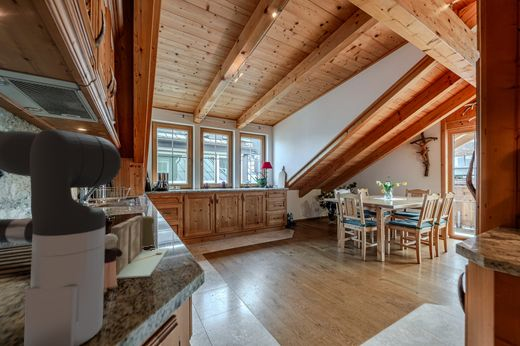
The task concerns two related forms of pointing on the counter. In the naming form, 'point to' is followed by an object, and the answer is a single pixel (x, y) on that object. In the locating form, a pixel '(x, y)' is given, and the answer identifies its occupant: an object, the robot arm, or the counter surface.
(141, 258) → the board
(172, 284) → the counter surface
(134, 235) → the fence panel
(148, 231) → the olive grey cylinder
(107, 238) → the grandmother figurine
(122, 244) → the panel
